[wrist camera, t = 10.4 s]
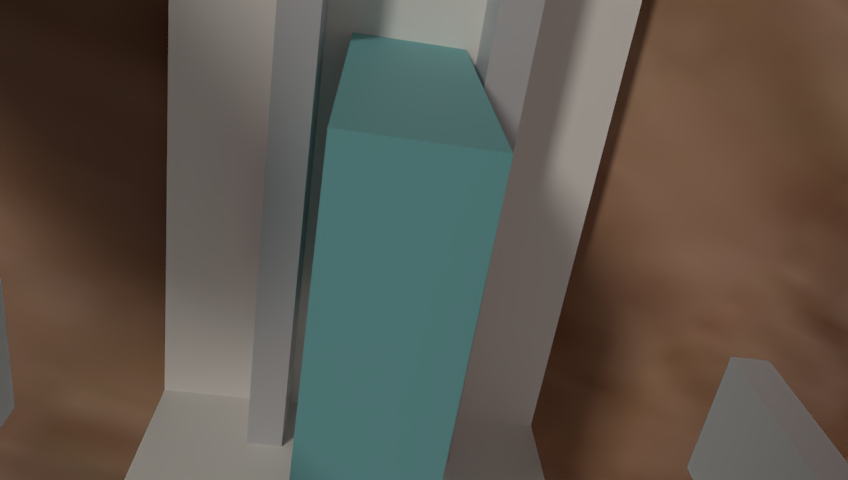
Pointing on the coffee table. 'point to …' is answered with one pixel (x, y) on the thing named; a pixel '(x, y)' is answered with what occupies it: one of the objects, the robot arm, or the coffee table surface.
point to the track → (299, 204)
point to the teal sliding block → (397, 262)
